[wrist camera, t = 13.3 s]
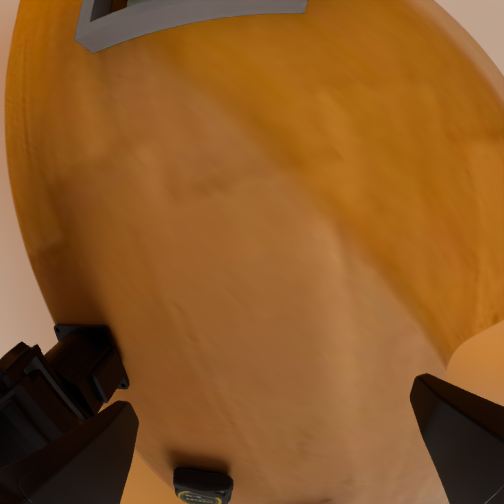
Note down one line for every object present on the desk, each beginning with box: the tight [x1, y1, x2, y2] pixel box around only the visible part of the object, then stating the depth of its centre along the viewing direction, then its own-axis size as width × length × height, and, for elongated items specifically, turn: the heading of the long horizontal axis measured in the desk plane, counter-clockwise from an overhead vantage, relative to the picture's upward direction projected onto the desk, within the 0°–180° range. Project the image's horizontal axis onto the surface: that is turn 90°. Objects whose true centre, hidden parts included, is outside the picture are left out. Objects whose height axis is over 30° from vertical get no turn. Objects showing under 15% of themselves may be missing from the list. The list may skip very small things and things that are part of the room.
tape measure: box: [173, 467, 233, 504], centre depth 23 cm, size 7×7×4 cm
